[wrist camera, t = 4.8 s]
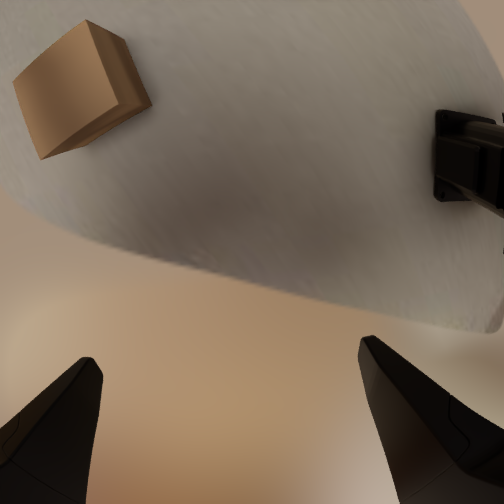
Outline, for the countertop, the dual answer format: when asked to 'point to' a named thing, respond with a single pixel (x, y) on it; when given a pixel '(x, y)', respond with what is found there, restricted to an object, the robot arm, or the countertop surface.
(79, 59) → the walnut cube
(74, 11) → the countertop surface
